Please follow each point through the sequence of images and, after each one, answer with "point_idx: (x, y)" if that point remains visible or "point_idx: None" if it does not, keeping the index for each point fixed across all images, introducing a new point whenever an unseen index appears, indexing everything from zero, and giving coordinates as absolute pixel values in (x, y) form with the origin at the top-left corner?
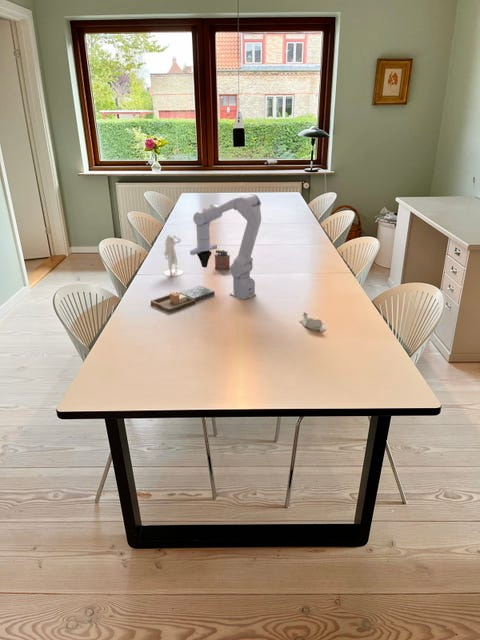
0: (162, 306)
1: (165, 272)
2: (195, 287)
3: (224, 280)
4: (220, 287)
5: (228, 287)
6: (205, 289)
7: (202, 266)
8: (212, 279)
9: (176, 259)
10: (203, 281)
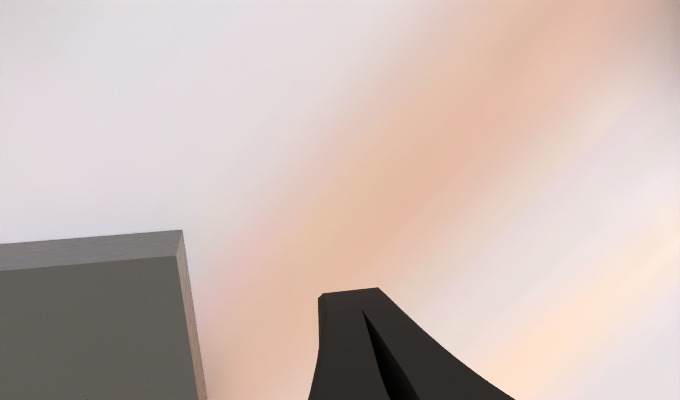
0: None
1: None
2: (86, 274)
3: (559, 180)
4: None
5: None
6: (154, 382)
7: (319, 313)
8: (511, 60)
9: None
10: (390, 34)
